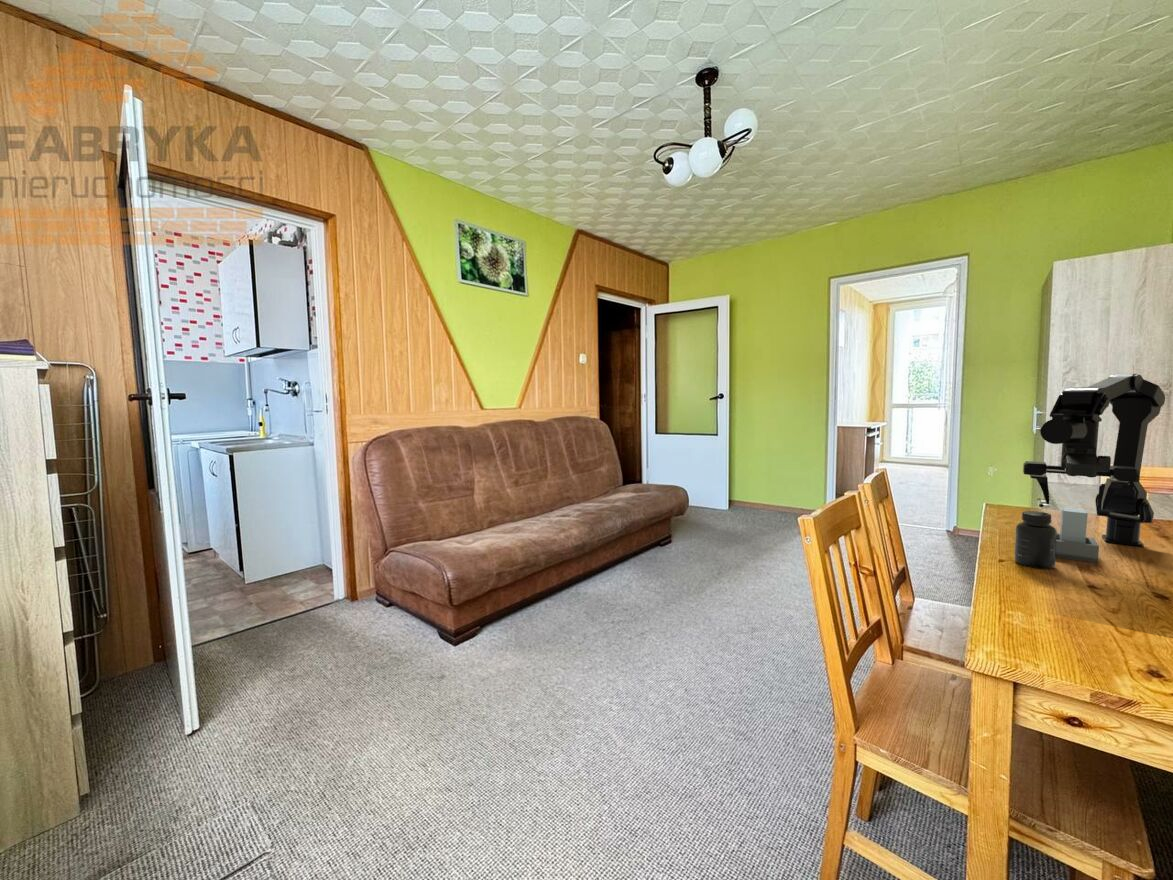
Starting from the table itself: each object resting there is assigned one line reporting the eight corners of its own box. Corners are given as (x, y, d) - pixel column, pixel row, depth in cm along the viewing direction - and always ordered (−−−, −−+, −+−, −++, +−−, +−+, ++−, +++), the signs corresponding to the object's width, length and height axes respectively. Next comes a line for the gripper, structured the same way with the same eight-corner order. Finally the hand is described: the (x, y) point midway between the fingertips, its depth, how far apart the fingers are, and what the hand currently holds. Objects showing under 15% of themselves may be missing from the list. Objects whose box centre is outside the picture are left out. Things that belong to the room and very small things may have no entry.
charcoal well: (1046, 547, 119) (1047, 532, 119) (1092, 553, 114) (1093, 537, 113) (1048, 556, 113) (1050, 539, 113) (1097, 563, 108) (1099, 546, 107)
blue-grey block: (1058, 547, 116) (1061, 507, 115) (1082, 550, 113) (1085, 509, 112) (1060, 551, 113) (1063, 510, 112) (1084, 555, 110) (1087, 513, 109)
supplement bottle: (1037, 559, 111) (1040, 509, 110) (1063, 569, 104) (1067, 517, 103) (1006, 558, 112) (1009, 509, 111) (1030, 569, 105) (1033, 517, 104)
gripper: (1027, 442, 111) (1022, 507, 112) (1148, 447, 99) (1142, 519, 100) (1024, 438, 119) (1020, 499, 121) (1136, 442, 107) (1130, 509, 108)
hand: (1074, 506), depth 112 cm, fingers open, 9 cm apart
